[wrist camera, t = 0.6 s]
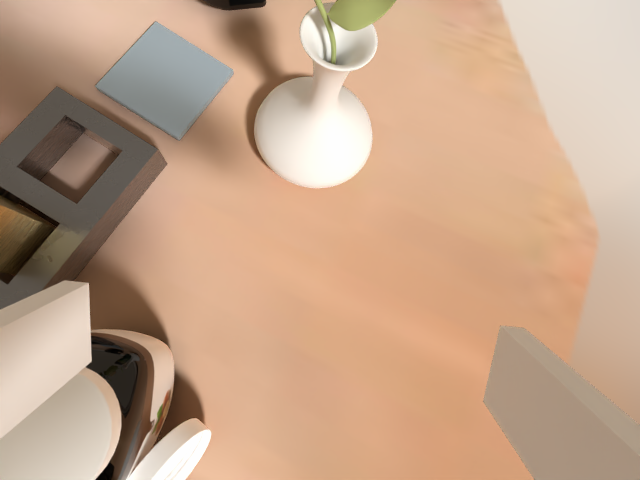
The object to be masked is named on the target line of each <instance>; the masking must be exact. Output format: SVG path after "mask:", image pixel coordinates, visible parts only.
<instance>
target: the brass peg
mask: <svg viewBox="0 0 640 480" xmlns="http://www.w3.org/2000/svg"><path fill="white" fill-rule="evenodd" d="M56 228H57V227H56V226H54V225H53V224H51V223H50V222H48V221H46V220H45V219H43V218H41V217H40V216H38V215H37V214H35V213H33V212H32V211H30V210H29V209H27V208H25V207H23V206H21V205H19V204H17V203H15V202H13V201H10V200H8V199H6V198H4V197H2V196H0V272H1V273H7V274H12V275H16V274H17V273H18V272H19V271H20V270H21V269H22V267H23V266H24V265H25V264H26V263H27V262H28V261H29V259H30V258H31V257H32V256H33V255H34V254H35V252H36V251H37V250H38V249H39V248H40V247H41V245H42V244H43V243H44V242H45V241H46V240H47V238H48V237H49V236H50V235H51V234H52V233H53V231H54V230H55V229H56Z"/></svg>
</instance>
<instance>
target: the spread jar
mask: <svg viewBox="0 0 640 480" xmlns="http://www.w3.org/2000/svg"><path fill="white" fill-rule="evenodd" d="M91 357H92V361H91V362H90V363H89V364H88V365H87V366H86V367H84V368H83V369H82V370H81V371H80V372H79V373H77V374H76V375H75V376H74V377H73V378H72V379H70V380H69V381H68V382H67V383H66V384H64V385H63V386H62V387H61V388H60V389H59V390H57V391H56V392H55V393H54V394H53V395H52V396H50V397H49V398H48V399H47V400H46V401H45V402H43V403H42V404H41V405H40V406H39V407H37V408H36V409H35V410H34V411H33V412H32V413H30V414H29V415H28V416H27V417H26V418H25V419H23V420H22V421H21V422H20V423H19V424H17V425H16V426H15V427H14V428H13V429H12V430H10V431H9V432H8V433H7V434H6V435H5V436H3V437H2V438H1V439H0V480H185V479H186V478H187V476H188V475H189V474H190V472H191V471H192V470H193V468H194V467H195V466H196V464H197V463H198V461H199V460H200V458H201V457H202V455H203V453H204V451H205V450H206V448H207V446H208V444H209V441H210V438H211V431H210V429H208V428H207V427H206V426H205V425H204V424H203V423H202V422H201V421H200V420H199V419H197V418H193V419H189V420H187V421H185V422H183V423H181V424H180V425H178V426H177V427H176V428H174V429H173V430H172V431H170V432H169V433H168V434H167V435H166V436H165V437H163V438H162V439H161V440H160V441H159V442H158V443H157V444H156V445H155V446H154V447H153V445H154V443H155V441H156V439H157V437H158V435H159V433H160V431H161V428H162V426H163V424H164V421H165V419H166V416H167V413H168V410H169V407H170V404H171V400H172V395H173V389H174V359H173V355H172V352H171V350H170V349H169V347H168V346H167V345H166V344H165V343H164V342H162V341H160V340H159V339H156V338H154V337H152V336H149V335H146V334H142V333H138V332H134V331H128V330H119V329H97V330H91ZM152 447H153V448H152Z"/></svg>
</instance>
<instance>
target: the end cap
mask: <svg viewBox="0 0 640 480" xmlns="http://www.w3.org/2000/svg"><path fill="white" fill-rule="evenodd" d="M204 1H205V2H206V3H208V4H210V5H211V6H214V7H217V8H221V9H223V10H239V9H249V8H258V7H263V6H265V5H266V0H204Z"/></svg>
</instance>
